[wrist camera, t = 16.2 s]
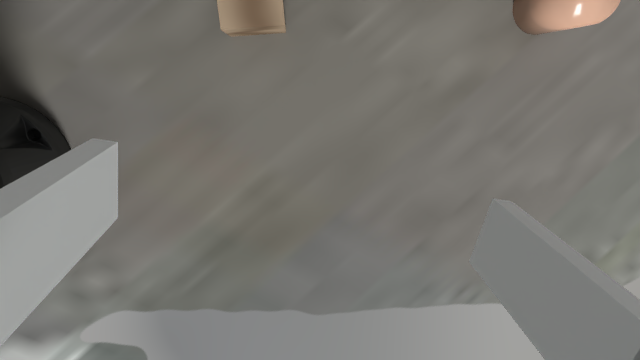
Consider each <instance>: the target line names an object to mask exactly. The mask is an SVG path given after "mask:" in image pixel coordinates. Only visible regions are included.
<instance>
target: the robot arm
mask: <svg viewBox="0 0 640 360" xmlns="http://www.w3.org/2000/svg"><path fill="white" fill-rule="evenodd" d="M117 218H118V142H115V141H108V140H101V139H95V138H92V139H90V140H88V141H87V142H85V143H83V144H81V145H79V146H77V147H76V148H74V149H72V150H70V149H69V146H68V144H67V142H66V141H65V139H64V137H63V136H62V134H61V133H60V132H59V130H58V129H57V128H56V127H55V126H54V125H53V124H52V123H51V122H50V121H49V120H48V119H47V118H46V117H44V116H43V115H42V114H41V113H39V112H38V111H36V110H34V109H33V108H31V107H29V106H27V105H25V104H22V103H20V102H17V101H14V100H11V99H6V98H1V97H0V346H1V345H2V344H3V343H4V342H5V341H6V340H7V339H8V338H9V336H10V335H11V334H12V333H13V332H14V331H15V330H16V329H17V328H18V327H19V325H20V324H21V323H22V322H23V321H24V320H25V319H26V318H27V317H28V316H29V315H30V313H31V312H32V311H33V310H34V309H35V308H36V307H37V306H38V305H39V304H40V303H41V301H42V300H43V299H44V298H45V297H46V296H47V295H48V294H49V293H50V292H51V290H52V289H53V288H54V287H55V286H56V285H57V284H58V283H59V282H60V281H61V280H62V278H63V277H64V276H65V275H66V274H67V273H68V272H69V271H70V270H71V269H72V268H73V266H74V265H75V264H76V263H77V262H78V261H79V260H80V259H81V258H82V257H83V255H84V254H85V253H86V252H87V251H88V250H89V249H90V248H91V247H92V246H93V245H94V243H95V242H96V241H97V240H98V239H99V238H100V237H101V236H102V235H103V234H104V233H105V231H106V230H107V229H108V228H109V227H110V226H111V225H112V224H113V223H114V222H115V220H116V219H117ZM469 262H470V264H471V265H472V266H473V267H474V269H475V270H476V271H477V273H478V274H479V275H480V276H481V278H482V279H483V280H484V282H485V283H486V284H487V286H488V287H489V288H490V289H491V291H492V292H493V293H494V295H495V296H496V297H497V298H498V300H499V301H500V302H501V304H502V305H503V306H504V307H505V309H506V310H507V311H508V312H509V314H510V315H511V316H512V318H513V319H514V320H515V322H516V323H517V324H518V325H519V327H520V328H521V329H522V331H523V332H524V333H525V334H526V336H527V337H528V338H529V340H530V341H531V342H532V343H533V345H534V346H535V347H536V349H537V350H538V351H539V353H540V354H541V355H542V356H543V358H544V359H545V360H640V299H638V298H637V297H636V296H634V295H633V294H632V293H631V292H629V291H628V290H627V289H625V288H624V287H623V286H622V285H620V284H619V283H618V282H616V281H615V280H614V279H612V278H611V277H610V276H609V275H607V274H606V273H605V272H603V271H602V270H601V269H599V268H598V267H597V266H596V265H594V264H593V263H592V262H590V261H589V260H588V259H586V258H585V257H584V256H583V255H581V254H580V253H579V252H577V251H576V250H575V249H573V248H572V247H571V246H570V245H568V244H567V243H566V242H564V241H563V240H562V239H560V238H559V237H558V236H556V235H555V234H554V233H553V232H551V231H550V230H549V229H547V228H546V227H545V226H543V225H542V224H541V223H540V222H538V221H537V220H536V219H534V218H533V217H532V216H530V215H529V214H528V213H527V212H525V211H524V210H523V209H521V208H520V207H519V206H517V205H516V204H515V203H514V202H512V201H507V200H500V199H494V198H493V200H492V202H491V205H490V207H489V210H488V213H487V215H486V218H485V221H484V223H483V226H482V229H481V231H480V234H479V237H478V239H477V242H476V245H475V247H474V250H473V253H472V255H471V258H470V261H469Z"/></svg>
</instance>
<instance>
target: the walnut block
mask: <svg viewBox="0 0 640 360" xmlns="http://www.w3.org/2000/svg"><path fill="white" fill-rule="evenodd" d="M217 5H218V12H219V20H220V27H221V30H222V31H223V32H225V33H226V34H228V35H229V36H231V37H232V36H245V35H259V34H273V33H286V28H285V17H284V7H283V0H217Z"/></svg>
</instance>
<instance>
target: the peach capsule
mask: <svg viewBox="0 0 640 360" xmlns="http://www.w3.org/2000/svg"><path fill="white" fill-rule="evenodd" d="M620 1H621V0H514V3H513V16H514V20H515V22H516V24H517V26H518V27H519V28H520V29H521V30H522V31H524V32H526V33H528V34H532V35H538V34H544V33H550V32H555V31H560V30H566V29H571V28H577V27H582V26H588V25H593V24H597V23H599V22H601V21H603V20H605V19H606V18H608V17H609V16H610V15H611V14H612V13H613V12H614V11H615V9H616V8H617V6H618V5H619V3H620Z"/></svg>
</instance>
